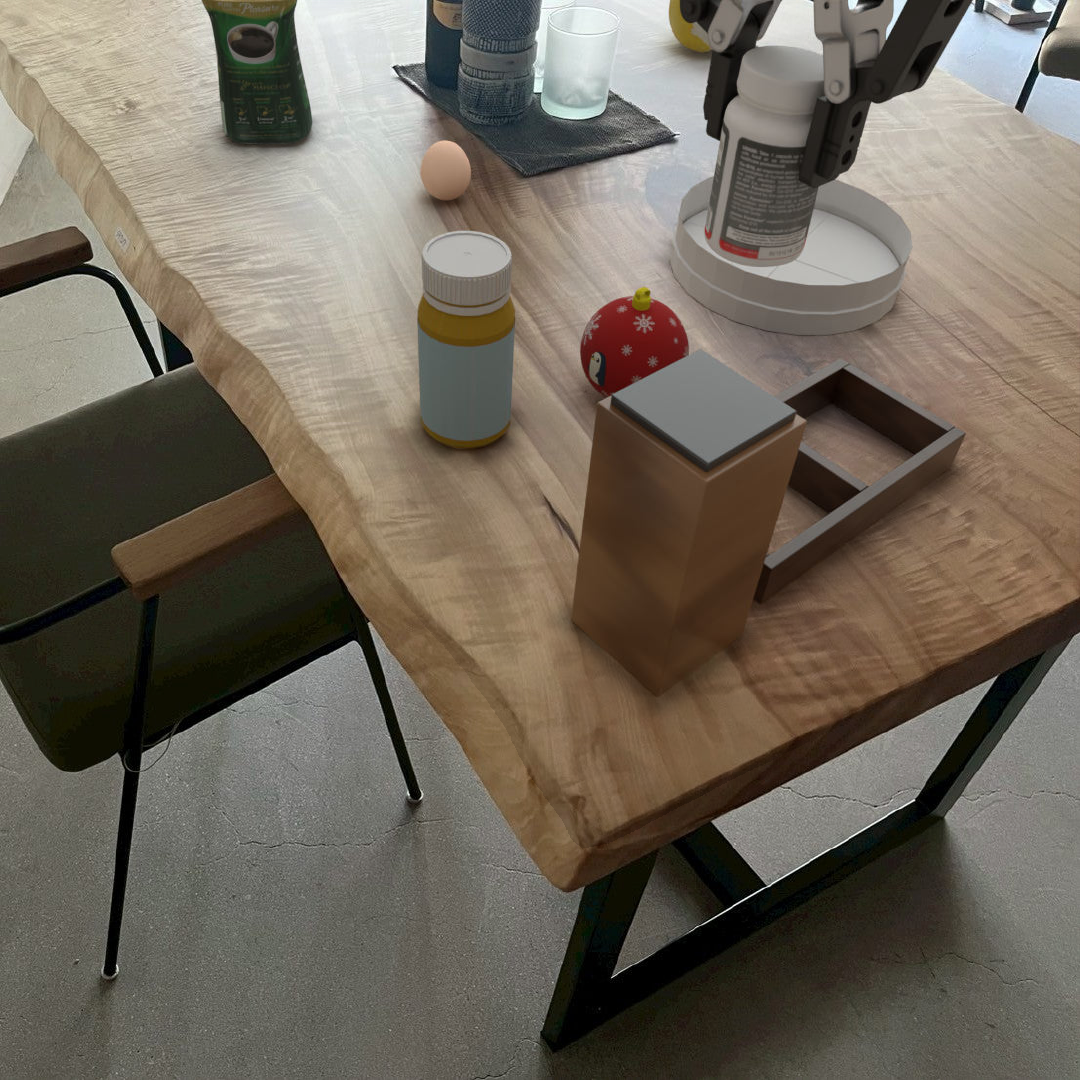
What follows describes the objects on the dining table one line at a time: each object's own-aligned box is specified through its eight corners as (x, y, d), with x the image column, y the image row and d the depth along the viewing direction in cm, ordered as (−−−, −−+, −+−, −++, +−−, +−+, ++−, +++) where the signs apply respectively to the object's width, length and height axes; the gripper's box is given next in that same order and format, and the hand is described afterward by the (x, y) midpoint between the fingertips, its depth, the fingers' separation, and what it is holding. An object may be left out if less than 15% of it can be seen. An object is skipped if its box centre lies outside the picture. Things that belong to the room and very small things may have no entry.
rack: (951, 467, 82) (966, 432, 79) (760, 605, 71) (771, 569, 68) (829, 391, 88) (840, 357, 85) (635, 507, 77) (641, 471, 74)
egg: (414, 189, 108) (412, 134, 104) (460, 183, 110) (460, 128, 106) (430, 213, 105) (429, 156, 101) (477, 205, 107) (478, 149, 103)
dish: (930, 260, 104) (946, 214, 101) (848, 365, 91) (864, 316, 87) (729, 192, 112) (738, 147, 108) (627, 279, 98) (633, 231, 95)
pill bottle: (823, 257, 49) (873, 75, 43) (743, 279, 47) (784, 93, 41) (760, 211, 52) (799, 35, 46) (682, 231, 50) (712, 50, 44)
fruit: (648, 48, 139) (658, -34, 132) (693, 29, 145) (705, -51, 138) (711, 71, 135) (726, -12, 128) (755, 50, 141) (771, -31, 134)
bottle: (412, 403, 84) (405, 232, 73) (496, 391, 85) (502, 222, 75) (432, 459, 79) (428, 286, 68) (521, 445, 81) (530, 274, 70)
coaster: (794, 419, 56) (797, 410, 55) (706, 473, 52) (708, 464, 52) (698, 357, 59) (700, 348, 59) (610, 403, 56) (611, 394, 55)
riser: (742, 635, 69) (808, 420, 56) (657, 697, 65) (706, 482, 52) (655, 565, 73) (698, 350, 60) (570, 619, 69) (596, 402, 56)
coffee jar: (314, 117, 119) (296, -65, 106) (311, 148, 114) (292, -39, 100) (227, 116, 118) (197, -67, 105) (220, 148, 112) (188, -42, 99)
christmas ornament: (701, 403, 86) (723, 298, 79) (622, 441, 82) (638, 334, 75) (633, 352, 90) (648, 248, 83) (554, 385, 86) (563, 279, 79)
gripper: (646, -366, 36) (600, 120, 48) (1010, -304, 29) (848, 250, 41) (785, -368, 40) (710, 84, 52) (1139, -313, 33) (956, 198, 45)
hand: (771, 155), depth 46 cm, fingers closed on pill bottle, 4 cm apart
